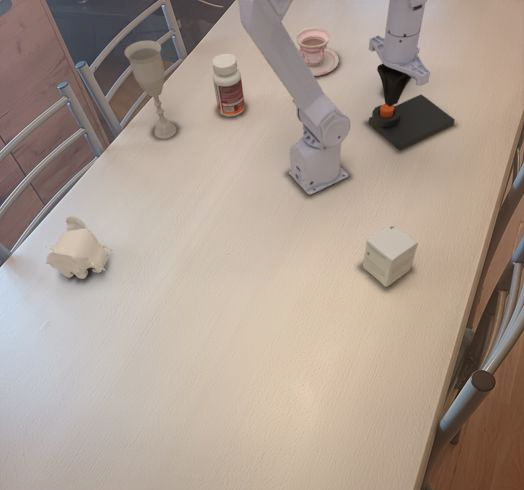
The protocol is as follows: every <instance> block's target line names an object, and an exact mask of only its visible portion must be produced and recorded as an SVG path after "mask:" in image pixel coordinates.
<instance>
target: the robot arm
mask: <svg viewBox="0 0 524 490" xmlns="http://www.w3.org/2000/svg"><path fill="white" fill-rule="evenodd" d="M293 1H294V0H238V1H237V2H238V10H239V18H240V19H239V20H240V23H241V25H242V27H243V29H244V30H245V32H246V33H247V35H248V37H249V38H250V39H251V40H252V42H253V43H254V45H255V46H256V48H257V49H258V50H259V52H260V54H261V55H262V57H263V58H264V59H265V61H266V62H267V64H268V66H270V68H271V69H272V71H273V72H274V73H275V75H276V76H277V78H278V79H279V81H280V82H281V84H282V86H283V87H284V88H285V90H286V91H287V92H288V94H289V95H290V97H291V98H292V102H293V104H294V107H295V108H296V109H295V110H296V117H297V119H298V120H299V122H300V123H302V130H303V131H302V132H303V135H302V137H301V138H300V139H299V140H298V141H297V142H296V143H294V144H293V145H292V146H291V147H290V149H289V156H290V157H289V158H290V159H289V160H290V170H289V171H288V174H289V175H290V176H291V178H292V179H293V181H295V182H296V183H297V184H298V185H299V186H300V187H301V188H302V189H303V191H304V192H305V193H306V194H307V195H309V196H311V195H313V194H316V193H319V192H320V191H321V190H325V189H326V188H328V187H331V186H333V185H334V184H337V183H338V182H340V181H343V180H345V179H347V178H348V177H349V173H348V172H347V171H346V170H345V169H343V168H342V166H341V155H342V154H341V153H342V143H343V142H344V141H345V139H346V138H347V136H348V135H349V133H350V130H351V126H352V125H351V120H350V117H348V116H347V114H345V113H344V112H342V111H341V110H340V109H339V108H338V107H337V105H335V103H333V102H332V101H331V100H330V99H329V97H328V96H327V95H326V93H325V92H324V91H323V88H322V87H321V86H320V84H319V82H318V80H317V79H316V76H314V75H313V74H312V72H311V70H310V69H309V67H308V65H307V64H306V62H305V61H304V59H303V57H302V56H301V54H300V52H299V49H298V47H297V45H296V44H295V43H294V41H293V39H292V38H291V36H290V34H289V32H288V31H287V29H286V27H285V25H284V24H283V20H284V19H285V16H286V14H287V13H288V11H289V9H290V7H291V5H292V3H293ZM427 2H428V0H389V1H388V8H387V16H386V17H387V18H386V24H385V33H384V37H382V36H380V35H376V36H373V37H370V38H369V43H368V50H369V51H370V52H372V53H373V52H376V54H377V56H378V58H379V60H380V62H381V63H380V64H379V65H378V66H377V67H376V68H377V69H376V71H377V73H378V75H379V77H380V80H381V84H382V89H383V98H384V104H386V105H388V106H389V107H390V106H392V105H393V106H396V105H398V103H399V102H400V101H399V100H400V98H401V97H402V94H403V92H404V90H405V88H406V86H407V85H408V84H409V82H410V80H411V79H413V80H414V81H415V84H416V86H418V87H422V86H424V85H426V84H428V83H429V80H430V76H431V70H429V69H428V68H427V67H426V65H425V64H424V63H423V61H422V59H421V58H420V56H419V54H420V47H418V45H419V40H420V33H421V30H422V29H421V28H422V24H423V18H424V13H425V9H426V8H425V7H426V3H427Z"/></svg>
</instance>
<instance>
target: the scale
mask: <svg viewBox="0 0 524 490" xmlns="http://www.w3.org/2000/svg"><path fill="white" fill-rule="evenodd" d="M382 105H383V104H380V105H378V106H375V107H374V109H373V110H372V113H371V117H369V118H368V124H369V126H370V127H372V128H373V129H374V130H375V131H377V133H379V134H380V135H381V136H382V137H383V138H384V139H386V140H387V141H388V142H389V143H390V144H392V145H393V146H394V147H395V148H396V149H397V150H398V151H402V150H405V149H406V148H408V147H410V146H413V145H415V144H418V143H420V142H422V141H423V140H426V139H428V138H429V137H431V136H434V135H436V134H438V133H440V132H442V131H444V130H446V129H448V128H451V127H453V126H454V124H455V119H454V118H453V117H452V116H451V115H449V114H448V113H447V112H445V111H444V110H443V109H441V107H439V106H437V105H436V104H435V103H434V102H432V101H431V100H430V99H428V98H427V97H425V96H424V95H423V94H419V95H416V96H414V97H412V98H410V99H408V100H406V101H403V102H401V103H399V104H396V105H393V106H394V112H393V116H392V117H390V118H384V117H381V116H380V108H381V106H382Z"/></svg>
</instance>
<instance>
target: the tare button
mask: <svg viewBox="0 0 524 490" xmlns="http://www.w3.org/2000/svg"><path fill="white" fill-rule="evenodd" d="M381 105H382V106H381V108H380V116H381V117H384V118H390V117H392V116H393V112H394V106H395V105H392V106H390V107H389V106H388V105H386V104H385V103H383V104H381Z"/></svg>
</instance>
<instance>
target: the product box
mask: <svg viewBox="0 0 524 490" xmlns="http://www.w3.org/2000/svg"><path fill="white" fill-rule="evenodd" d="M418 245H419V242H418V241H417V240H416V239H414V238H413V237H412V236H410V235H409V234H408V233H407V232H406V231H404V230H403V229H402V228H400V227H399V226H397V225H396V224H395V223H394V222H390V224H388V225H386V226H385V227H383V228H382V229H381V230H380V231H378V232H376V233H375V234H373V235H372V236H370V238H368V239H367V240H366V243H365V251H364V257H363V263H362V268H363V269H364V270H365V271H366V272H367V273H369V274H370V275H371V276H373V277H374V279H376V280H377V281H378V282H379V283H380V284H381V285H382V286H384V287H385V288H388V287H389V286H391V285H392V284H393V283H395V282H397V280H398V279H400V278H401V277H403V276H404V275H405V274H407V273H408V272H409V271H410V270H411V268H412V265H413V261H414V260H415V259H414V258H415V255H416V252H417V248H418Z"/></svg>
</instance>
